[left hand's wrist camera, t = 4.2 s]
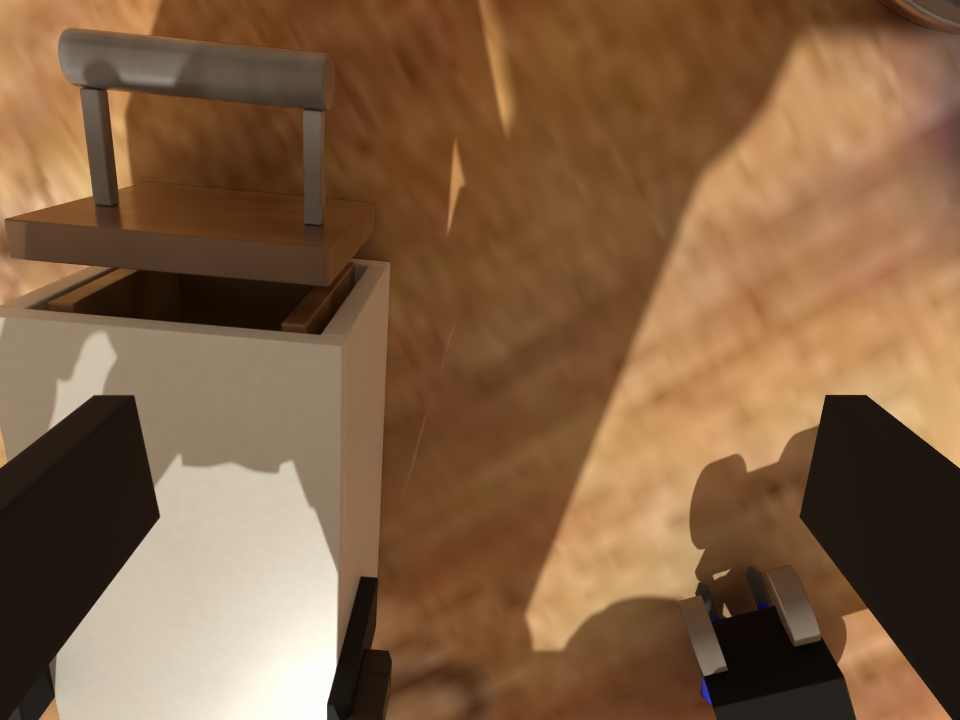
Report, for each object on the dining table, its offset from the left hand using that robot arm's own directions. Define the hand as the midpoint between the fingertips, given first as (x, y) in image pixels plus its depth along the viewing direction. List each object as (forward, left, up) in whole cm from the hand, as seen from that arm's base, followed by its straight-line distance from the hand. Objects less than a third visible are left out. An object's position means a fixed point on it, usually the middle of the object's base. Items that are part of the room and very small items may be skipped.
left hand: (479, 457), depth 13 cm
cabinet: (+5, -13, -18) cm, 23 cm away
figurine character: (+26, +6, -18) cm, 32 cm away
